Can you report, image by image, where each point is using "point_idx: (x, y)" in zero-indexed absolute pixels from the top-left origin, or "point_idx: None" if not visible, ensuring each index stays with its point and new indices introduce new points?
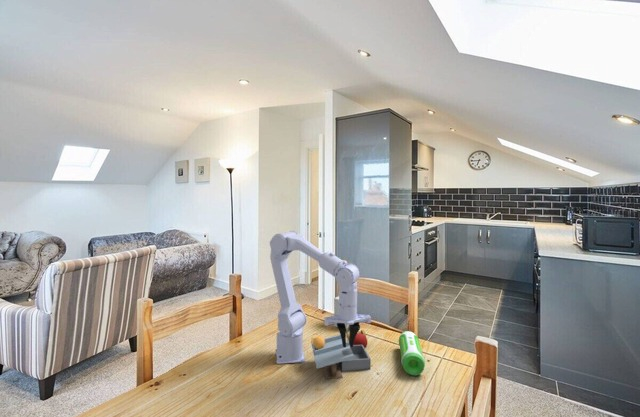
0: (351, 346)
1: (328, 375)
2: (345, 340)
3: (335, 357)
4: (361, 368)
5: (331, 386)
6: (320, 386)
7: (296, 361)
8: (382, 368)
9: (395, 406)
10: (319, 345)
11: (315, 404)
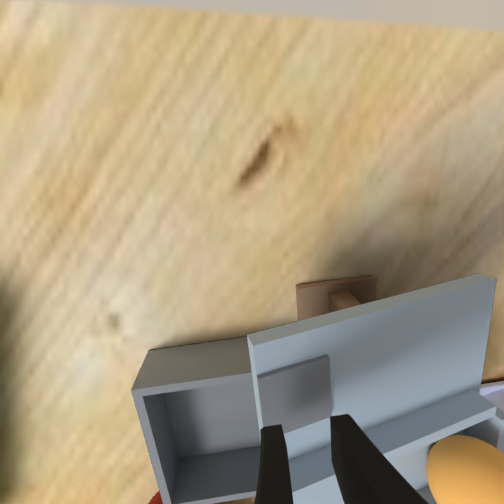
0: (275, 428)
1: (365, 291)
2: (374, 485)
3: (381, 345)
4: (193, 348)
5: (358, 221)
6: (409, 222)
7: (487, 387)
8: (85, 360)
9: (39, 45)
10: (483, 455)
11: (457, 85)
